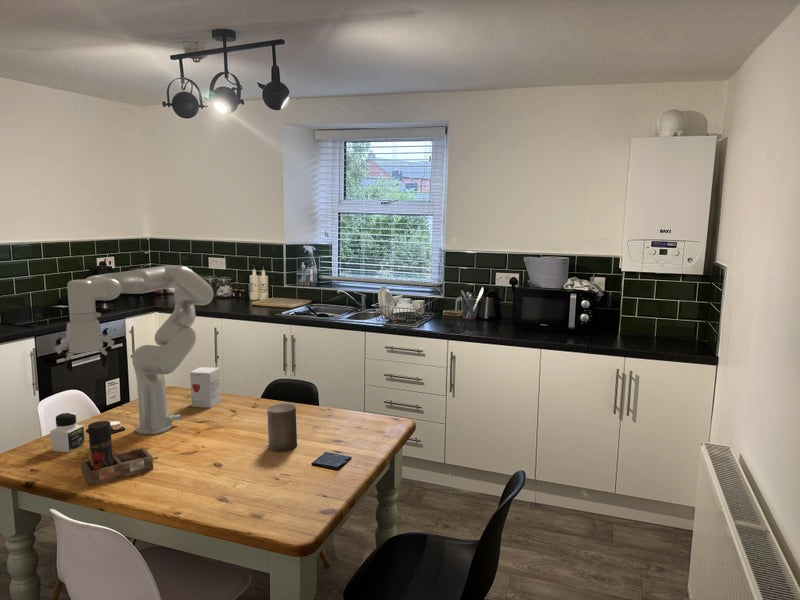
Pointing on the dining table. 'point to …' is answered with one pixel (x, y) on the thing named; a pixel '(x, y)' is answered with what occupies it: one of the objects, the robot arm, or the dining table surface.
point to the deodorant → (100, 445)
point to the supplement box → (205, 387)
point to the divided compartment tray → (119, 466)
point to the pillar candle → (282, 427)
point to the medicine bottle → (67, 433)
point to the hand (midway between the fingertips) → (87, 368)
